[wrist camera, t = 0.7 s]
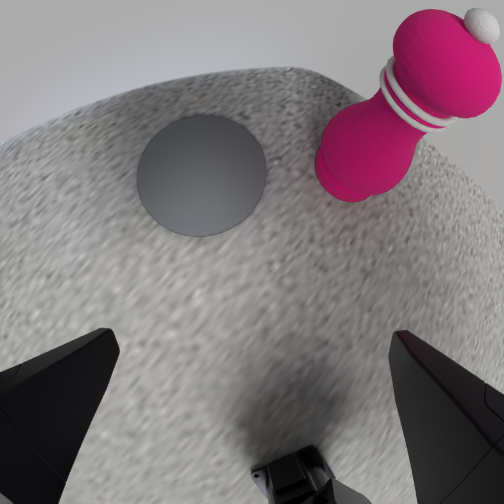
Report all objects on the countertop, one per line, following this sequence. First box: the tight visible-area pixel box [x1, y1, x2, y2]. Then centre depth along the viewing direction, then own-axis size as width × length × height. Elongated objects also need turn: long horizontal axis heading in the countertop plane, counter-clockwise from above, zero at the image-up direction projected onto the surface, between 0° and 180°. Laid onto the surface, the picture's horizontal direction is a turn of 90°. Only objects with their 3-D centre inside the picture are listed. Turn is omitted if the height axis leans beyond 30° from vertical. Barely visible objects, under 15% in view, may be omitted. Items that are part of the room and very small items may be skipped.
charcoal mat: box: [137, 116, 266, 237], centre depth 24 cm, size 11×11×1 cm
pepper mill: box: [315, 8, 502, 202], centre depth 16 cm, size 7×7×20 cm
